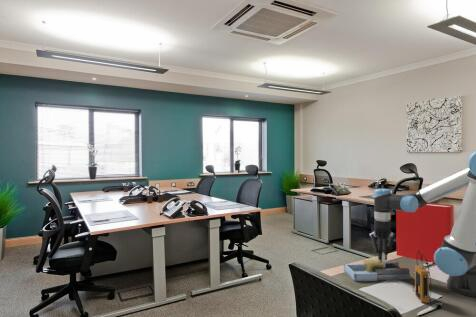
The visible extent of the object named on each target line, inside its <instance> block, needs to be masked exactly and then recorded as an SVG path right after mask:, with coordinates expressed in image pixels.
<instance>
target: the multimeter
mask: <svg viewBox="0 0 476 317" xmlns="http://www.w3.org/2000/svg"><path fill="white" fill-rule="evenodd" d="M418 253H420V252H419V250H418ZM420 255H421V254H420ZM422 255H424V254H422ZM417 256H418V254H417ZM424 257H425V255H424ZM425 259H426V257H425ZM423 262H424V261H421V260H420V264H418V262H416V264H415V265H414V284H413V286H412V291H413V292H414V293H415V297H417V299H419V301H420V302H421V303H426V304H428V303H429V306H430V307H431V308H433V305H432V304H431V302H432V301H430V299H432V300H436V301H438V302H440V304H441V306H442V304H443V303H445V304H447V302H446V301H443V300H441V299H438V298H433V297H431V293H432V292H431V289H432V278H431V273H430V267H429V262H427V260H426V261H425V262H426V265H427V268H425V267H424V264H423ZM439 308H440V307H438V306H437V307H436V309H439Z"/></svg>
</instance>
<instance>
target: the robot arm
mask: <svg viewBox="0 0 476 317" xmlns="http://www.w3.org/2000/svg"><path fill="white" fill-rule="evenodd" d="M467 160H468V161H467V167H465V168H463V169H461V170H458V171H456V172H454V173H453V174H450V175H448V176H446V177H443V178H442V179H439V180H437V181H435V182H433V183H431V184H429V185H427V186H425V187H423V188H420V189H418V190H416V191H414V192H412V193H406V194H394V193H392V190H391V189H389V188H376V189H375V190H374V193H373V195H374V196H373V199H374V200H373V203H374V209H373V214H374V215H373V216H374V218H373V219H374V224H373V226H374V229H373V231H372V232H371V233H370V232H369V233H368V235H369V237H370V239H371V244H372V247H373V251H374V252H375V253H376V254H377V260H381V261H382V262H383V268H385V262H386V261H387V260H388V255H389V254H390V253H392V249H393V246H394V241H395V239H396V233H394V232H392V229H391V228H392V226H391V225H392V221H391V220H392V216H391V215H392V214H391V213H392V210H393V211H394V210H395V211H396V210H399V211H405V212H415V211H416V210H417V209H418V208H421V207H424V206H425V205H427V204H429V203H434V202H435V201H438V200H440V199H442V198H445V197H447V196H449V195H452V194H455V193H457V192H459V191H462V190H464V189H466V191H465V193H464V196H463V198H462V202H461V204H460V207H459V210H458V212H457V216H456V217H455V219H454V225H453V228H452V231H451V234H450V235H448V236H445V237H444V240H443V242H442V245H441V248H439V249H438V250H437V251H436V252H435V254H434V261H435V263H436V264H435V263H434V264H435V265H436V267H437V268H438V269H439V270H440V271H441V272H442V273H444V274H445V275H448V278H447V279H446V287H447V288H448V289H449V290H450V291H453V292H455V293H457V294H460V295H462V296H468V297H472V298H473V297H474V298H476V150H475V151H474V152H472V154H470V156H469V158H468V159H467ZM376 238H377V239H376Z"/></svg>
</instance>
